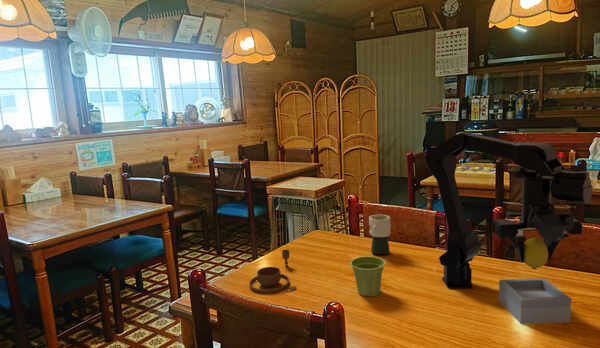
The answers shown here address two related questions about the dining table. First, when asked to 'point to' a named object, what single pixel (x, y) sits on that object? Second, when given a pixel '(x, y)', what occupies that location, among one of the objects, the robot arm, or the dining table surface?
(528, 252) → the lemon
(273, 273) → the place setting
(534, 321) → the grey open box
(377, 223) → the character mug
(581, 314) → the dining table surface
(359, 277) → the plant pot
